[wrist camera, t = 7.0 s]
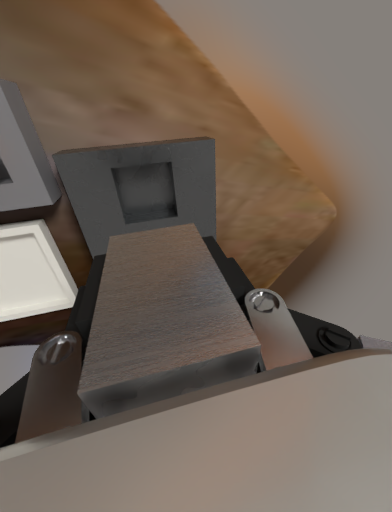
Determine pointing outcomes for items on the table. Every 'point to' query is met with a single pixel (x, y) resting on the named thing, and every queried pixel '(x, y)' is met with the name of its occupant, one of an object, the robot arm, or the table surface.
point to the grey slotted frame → (140, 187)
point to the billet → (162, 323)
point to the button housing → (22, 156)
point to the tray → (32, 272)
